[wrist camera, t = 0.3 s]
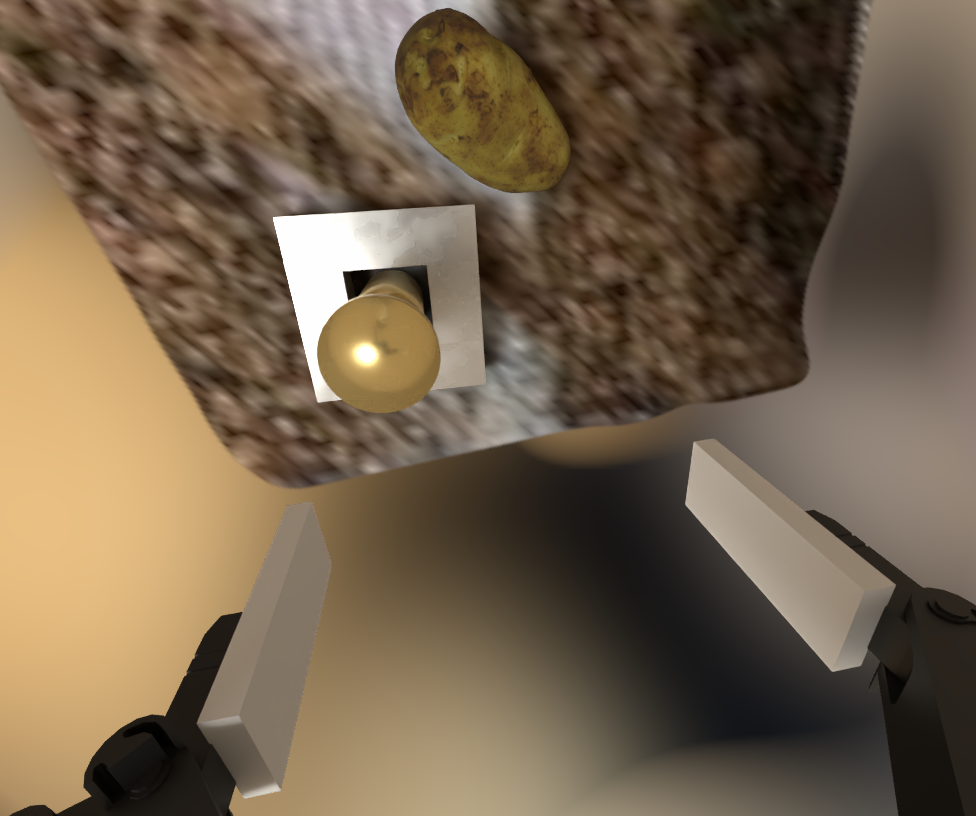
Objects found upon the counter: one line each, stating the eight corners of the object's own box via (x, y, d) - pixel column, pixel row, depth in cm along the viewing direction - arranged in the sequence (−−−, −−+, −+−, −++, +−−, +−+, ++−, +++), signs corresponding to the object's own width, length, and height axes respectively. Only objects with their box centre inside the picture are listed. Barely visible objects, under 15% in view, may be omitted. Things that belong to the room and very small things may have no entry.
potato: (492, 236, 37) (510, 244, 30) (378, 89, 32) (368, 56, 25) (571, 164, 36) (610, 154, 28) (466, -1, 30) (481, -65, 23)
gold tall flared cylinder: (348, 263, 36) (303, 303, 22) (426, 257, 37) (434, 292, 23) (361, 339, 39) (330, 419, 25) (434, 332, 40) (446, 406, 25)
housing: (288, 215, 34) (273, 217, 31) (468, 204, 36) (474, 204, 32) (326, 384, 40) (317, 402, 37) (479, 368, 42) (485, 383, 38)
